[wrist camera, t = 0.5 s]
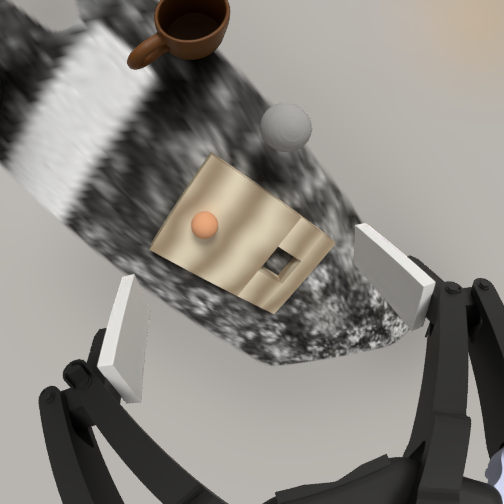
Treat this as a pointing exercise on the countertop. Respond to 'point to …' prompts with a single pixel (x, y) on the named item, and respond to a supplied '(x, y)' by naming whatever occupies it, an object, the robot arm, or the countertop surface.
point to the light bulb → (286, 127)
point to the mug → (183, 31)
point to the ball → (204, 225)
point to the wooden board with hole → (241, 236)
